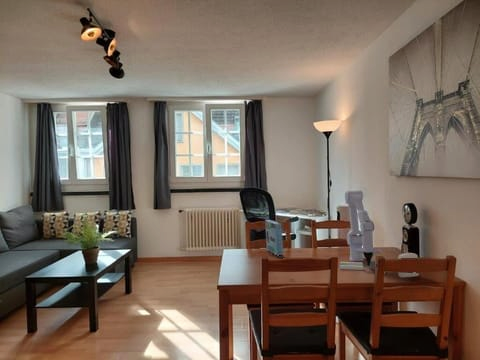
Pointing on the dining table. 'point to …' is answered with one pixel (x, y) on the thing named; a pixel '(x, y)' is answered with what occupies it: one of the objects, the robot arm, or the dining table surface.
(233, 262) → the dining table surface
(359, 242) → the robot arm
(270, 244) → the gum box
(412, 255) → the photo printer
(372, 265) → the slate block
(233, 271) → the dining table surface
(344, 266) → the channel
